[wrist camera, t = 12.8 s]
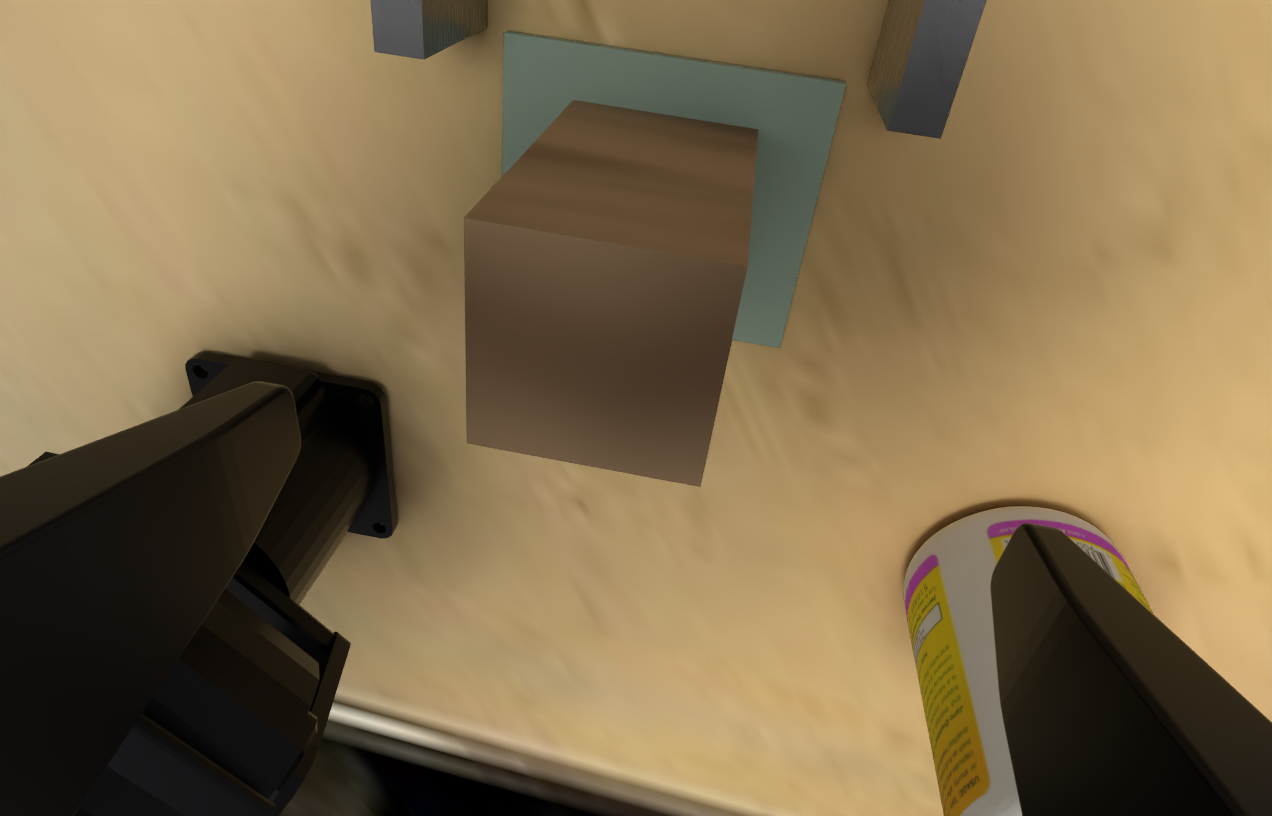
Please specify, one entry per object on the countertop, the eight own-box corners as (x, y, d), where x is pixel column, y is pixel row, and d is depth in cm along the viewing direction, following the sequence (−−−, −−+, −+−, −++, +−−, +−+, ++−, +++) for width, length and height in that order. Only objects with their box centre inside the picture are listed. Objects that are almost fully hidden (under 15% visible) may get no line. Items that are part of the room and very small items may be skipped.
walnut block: (724, 298, 21) (700, 487, 15) (561, 270, 21) (466, 443, 15) (758, 129, 19) (747, 266, 12) (572, 99, 19) (464, 218, 12)
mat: (779, 342, 22) (779, 348, 22) (503, 295, 22) (500, 300, 22) (845, 81, 18) (846, 83, 18) (507, 30, 18) (503, 32, 18)
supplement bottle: (959, 663, 28) (1068, 1132, 18) (862, 549, 26) (920, 1011, 15) (1156, 598, 25) (1429, 1117, 15) (1066, 461, 23) (1316, 962, 12)
